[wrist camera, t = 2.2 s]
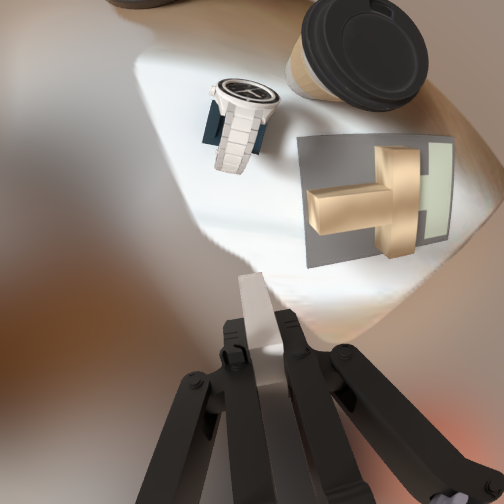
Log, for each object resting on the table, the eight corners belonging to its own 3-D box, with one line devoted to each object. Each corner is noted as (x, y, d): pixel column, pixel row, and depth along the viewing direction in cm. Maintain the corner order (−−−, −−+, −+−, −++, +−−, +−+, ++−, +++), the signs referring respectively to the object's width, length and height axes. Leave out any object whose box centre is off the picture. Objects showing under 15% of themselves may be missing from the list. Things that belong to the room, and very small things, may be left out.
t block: (303, 150, 29) (314, 153, 25) (400, 145, 29) (419, 149, 26) (310, 257, 34) (321, 272, 31) (398, 241, 35) (414, 253, 31)
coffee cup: (331, 32, 23) (404, -16, 10) (360, 104, 27) (451, 100, 14) (254, 50, 24) (284, -11, 10) (287, 126, 28) (346, 127, 14)
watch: (269, 97, 26) (295, 80, 16) (250, 167, 29) (267, 188, 19) (216, 85, 25) (214, 61, 15) (199, 157, 28) (187, 172, 18)
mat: (296, 137, 28) (297, 137, 28) (452, 136, 29) (454, 137, 29) (306, 267, 35) (307, 268, 35) (446, 239, 36) (447, 239, 36)
